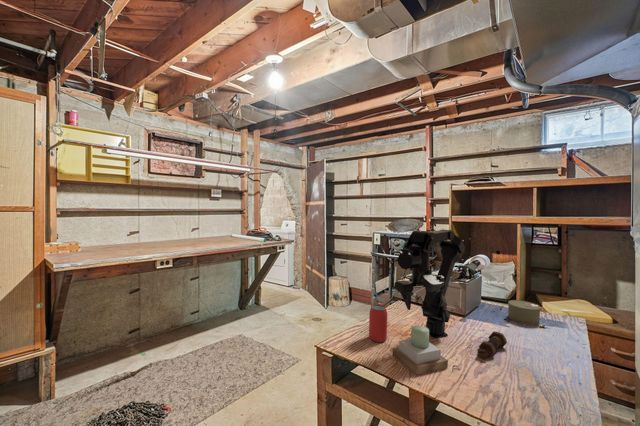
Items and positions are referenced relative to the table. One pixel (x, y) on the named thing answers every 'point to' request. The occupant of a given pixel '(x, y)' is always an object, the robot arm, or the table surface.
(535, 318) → the can
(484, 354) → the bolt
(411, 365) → the walnut base slab
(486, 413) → the table surface
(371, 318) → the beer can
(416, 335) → the green cylinder
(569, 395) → the table surface
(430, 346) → the grey top slab
